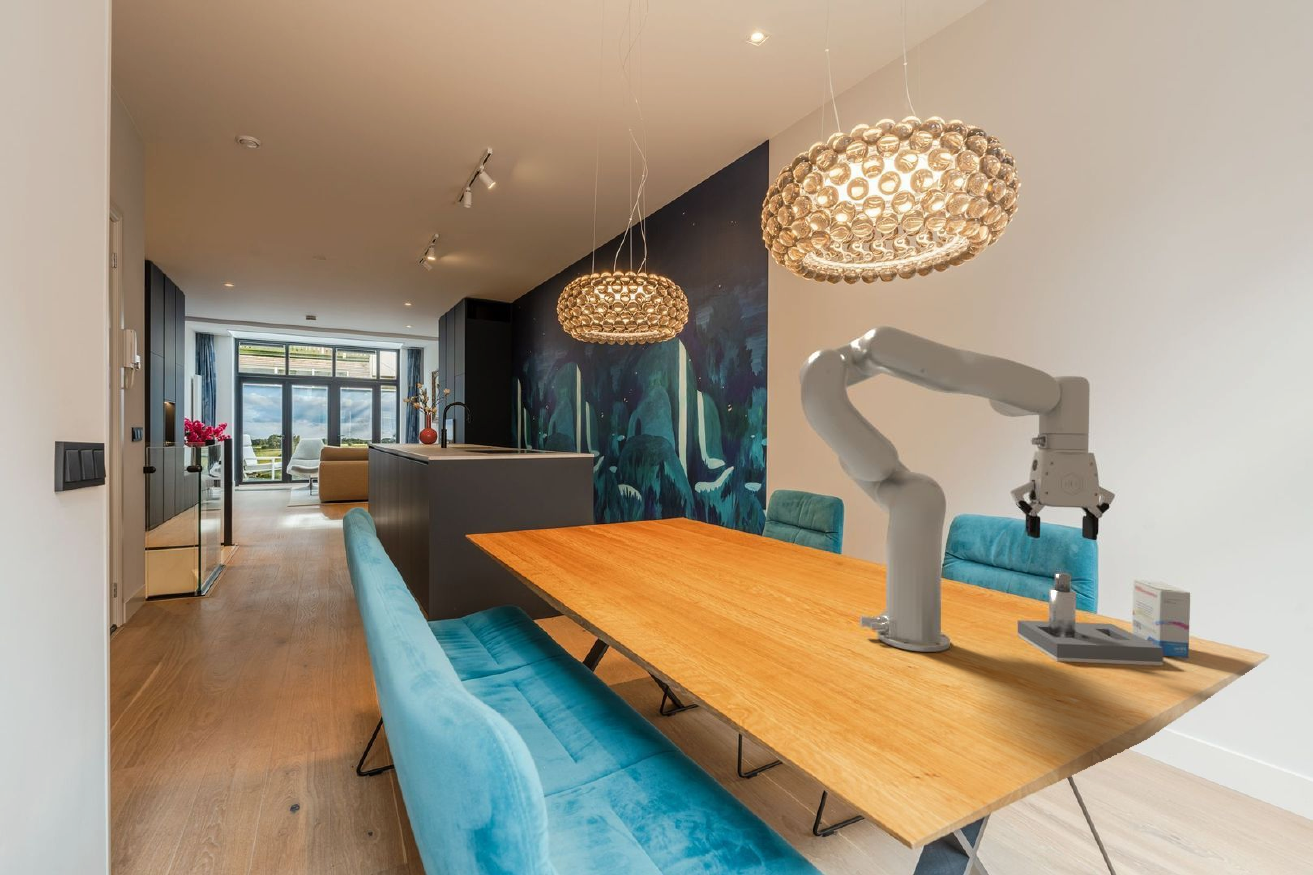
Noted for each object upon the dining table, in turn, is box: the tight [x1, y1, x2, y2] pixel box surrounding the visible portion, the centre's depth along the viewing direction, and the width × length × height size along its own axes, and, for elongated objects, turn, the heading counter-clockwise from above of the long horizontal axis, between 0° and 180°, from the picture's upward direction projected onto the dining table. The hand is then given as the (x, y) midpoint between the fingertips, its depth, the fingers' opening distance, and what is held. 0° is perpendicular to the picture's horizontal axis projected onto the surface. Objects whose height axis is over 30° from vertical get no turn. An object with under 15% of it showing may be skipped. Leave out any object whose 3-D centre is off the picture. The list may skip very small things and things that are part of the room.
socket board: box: [1017, 620, 1164, 666], centre depth 107 cm, size 17×13×3 cm
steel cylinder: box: [1048, 572, 1077, 638], centre depth 107 cm, size 4×4×13 cm
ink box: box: [1131, 579, 1191, 658], centre depth 108 cm, size 9×5×12 cm, turn 168°
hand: (1061, 537), depth 107 cm, fingers open, 9 cm apart
